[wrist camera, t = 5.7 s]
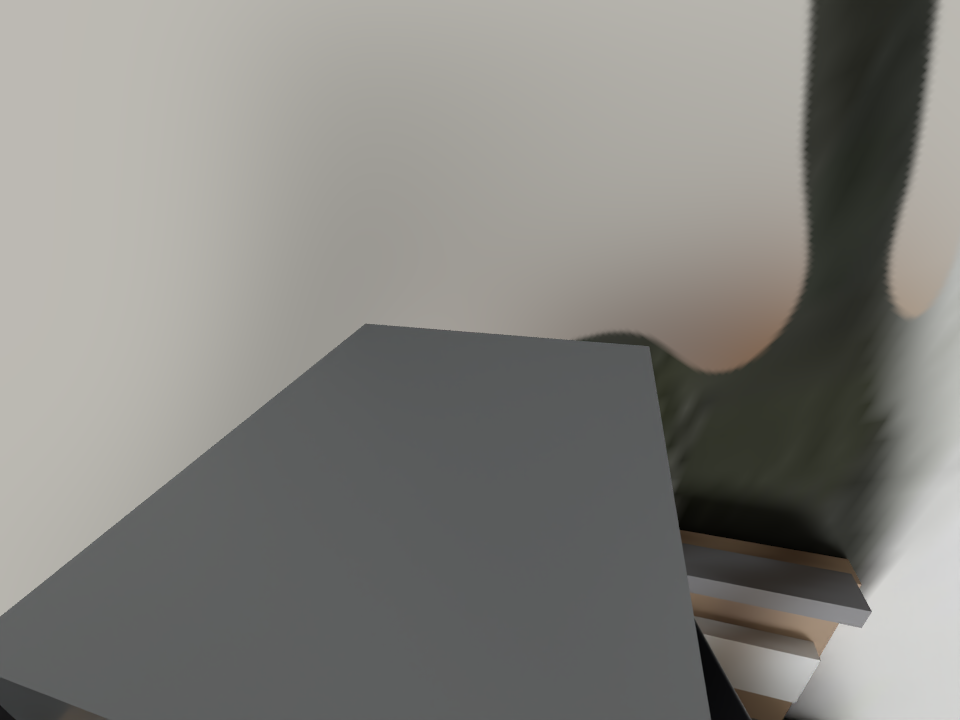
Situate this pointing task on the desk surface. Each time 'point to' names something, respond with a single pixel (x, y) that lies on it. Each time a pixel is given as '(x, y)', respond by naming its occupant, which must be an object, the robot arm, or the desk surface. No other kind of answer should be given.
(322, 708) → the module
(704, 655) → the robot arm
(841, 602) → the rail board
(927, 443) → the desk surface
